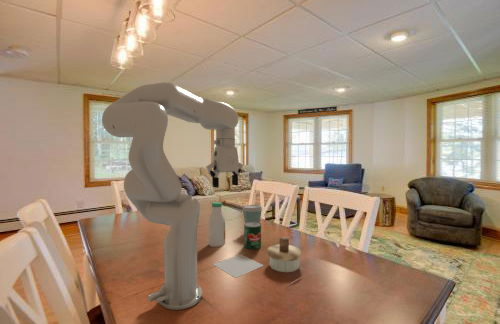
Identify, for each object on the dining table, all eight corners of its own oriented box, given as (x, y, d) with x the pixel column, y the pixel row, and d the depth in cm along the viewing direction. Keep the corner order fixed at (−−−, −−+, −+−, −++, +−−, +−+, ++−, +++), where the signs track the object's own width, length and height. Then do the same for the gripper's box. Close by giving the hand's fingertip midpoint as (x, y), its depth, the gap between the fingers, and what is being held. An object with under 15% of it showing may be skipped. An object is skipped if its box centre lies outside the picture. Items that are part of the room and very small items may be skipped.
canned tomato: (252, 252, 111) (253, 227, 110) (240, 247, 116) (240, 224, 116) (264, 247, 117) (264, 223, 116) (252, 243, 122) (252, 220, 121)
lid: (286, 264, 88) (286, 247, 88) (260, 253, 98) (260, 238, 97) (308, 254, 97) (308, 238, 97) (281, 244, 106) (282, 230, 106)
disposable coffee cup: (239, 234, 134) (239, 206, 133) (246, 228, 144) (246, 202, 143) (258, 237, 130) (259, 208, 129) (264, 230, 140) (264, 204, 140)
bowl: (286, 276, 90) (286, 262, 90) (264, 266, 98) (264, 253, 98) (304, 266, 97) (304, 254, 97) (282, 257, 105) (282, 246, 105)
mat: (235, 279, 88) (235, 277, 88) (212, 265, 98) (212, 264, 98) (264, 266, 97) (264, 265, 97) (240, 255, 107) (240, 254, 107)
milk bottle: (222, 248, 115) (222, 204, 114) (206, 246, 117) (206, 204, 116) (227, 242, 123) (227, 201, 122) (212, 241, 124) (211, 200, 123)
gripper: (212, 143, 92) (213, 189, 93) (247, 143, 104) (247, 185, 105) (201, 143, 98) (202, 187, 99) (236, 144, 110) (236, 183, 110)
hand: (225, 186), depth 102 cm, fingers open, 9 cm apart
